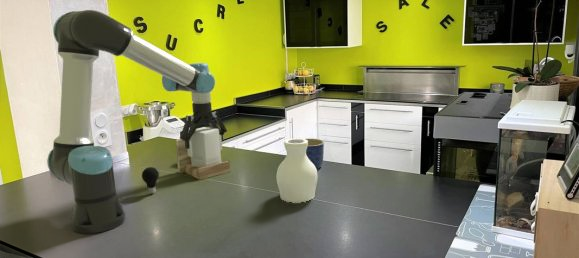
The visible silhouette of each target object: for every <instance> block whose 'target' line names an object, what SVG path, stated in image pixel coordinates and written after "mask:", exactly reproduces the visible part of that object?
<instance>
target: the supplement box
mask: <svg viewBox="0 0 579 258" xmlns="http://www.w3.org/2000/svg"><path fill="white" fill-rule="evenodd" d="M190 140H191V142H192V154H193V157H191V162H192V166H195V167H200V168H201V167H205V166H209V165H214V164H218V163H221V162H222V157H221V150H220V139H219V129H214V128H213V127H206V126H202V127H198V128H197V129H196V130H195V132H194V134H193V135H192V137H191V138H190Z"/></svg>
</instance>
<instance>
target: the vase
mask: <svg viewBox="0 0 579 258" xmlns="http://www.w3.org/2000/svg"><path fill="white" fill-rule="evenodd" d="M306 139H307V138H297V137H296V138H289V139H286V140H284V141H283V145H284V149H285V151H286V155H285V158H284V159H283V160H282V162H281V163H280V164H279V166H277V170H276V175H275V176H276V183H277V187H278V191H279V195H280V196H279V198H280V200H282V201H283V200H284V201H283V202H285V201H286V202H285V203H289V202H292V203H291V204H302V203H301V202H304V203H307V202H306V201H309V200H311V199H313V198H314V197H315V195H316V194H315V193H316V188H317V184H318V169H316V167H315V166H314V164H313V163H312V162H311V161H310V160H309V159H308V157H307V155H306V149H307V146H308V140H306ZM314 199H315V198H314ZM314 199H313V200H314ZM311 201H312V200H311ZM309 202H310V201H309Z"/></svg>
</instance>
